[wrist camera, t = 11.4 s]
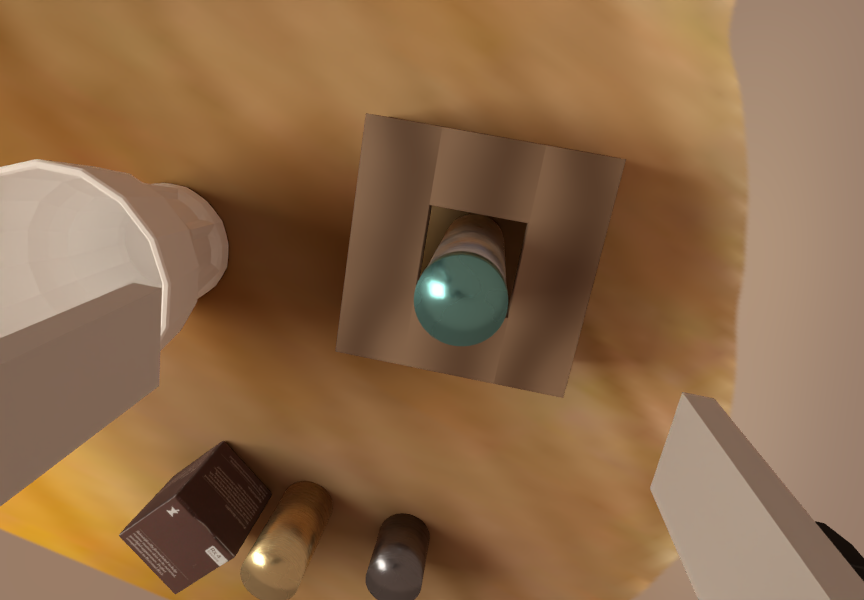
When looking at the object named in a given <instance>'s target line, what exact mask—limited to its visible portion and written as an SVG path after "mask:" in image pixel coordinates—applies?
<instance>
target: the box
mask: <svg viewBox="0 0 864 600" xmlns="http://www.w3.org/2000/svg"><path fill="white" fill-rule="evenodd" d="M271 495H272V493H271V492H270V491H269V490H268V489H267V488H266V487H265V486H264V485H263V483H262V482H261V481H260V480H259V479H258V478H257V477H256V476H255V475H254V474H253V472H252V471H251V470H250V469H249V468H248V467H247V466H246V465H245V464H244V462H243V461H242V460H241V459H240V458H239V457H238V456H237V455H236V454H235V453H234V451H233V450H232V449H231V448H230V447H229V446H228V445H227V444H226V442H225V441H222V442H220V443H219V444H218V445H216V446H215V447H213V448H212V449H211V450H209V451H208V452H206V453H205V454H204V455H202V456H201V457H200V458H198V459H197V460H195V461H194V462H192V463H191V464H190V465H188V466H187V467H186V468H184V469H183V470H182V471H180V472H179V473H177V474H176V475H175V476H173V477H172V478H171V479H170V481H169V482H168V483H167V484H166V485H165V486H164V487H163V488H162V489H161V490H160V491H159V492H158V493H157V494H156V495H155V497H154V498H153V499H152V500H151V501H150V502H149V503H148V504H147V505H146V506H145V507H144V508H143V509H142V510H141V512H140V513H139V514H138V515H137V516H136V517H135V518H134V519H133V520H132V521H131V522H130V523H129V524H128V525H127V526H126V527H125V529H124V530H123V531H122V532H121V533H120V534H119V537H120V538H121V539H122V540H123V541H124V542H125V543H126V544H127V545H128V546H129V547H130V548H131V549H132V550H133V551H134V552H135V553H136V554H137V555H138V556H139V557H140V558H141V559H142V560H143V561H144V562H145V563H146V564H147V565H148V566H149V567H150V569H151V570H152V571H153V572H154V573H155V574H156V575H157V576H158V577H159V578H160V579H161V580H162V581H163V582H164V583H165V584H166V585H167V586H168V587H169V588H170V589H171V590H172V592H173V593H174V594H177V593H178V592H180V591H182V590H183V589H185V588H186V587H188V586H189V585H191V584H193V583H194V582H196V581H197V580H199V579H200V578H202V577H203V576H205V575H207V574H208V573H210V572H211V571H213V570H215V569H216V568H218V567H220V566H221V565H223V564H224V563H226V562H228V561H229V560H231V559H232V558H234V557H235V556H236V554H237V553H238V551H239V549H240V547H241V546H242V544H243V543H244V541H245V539H246V537H247V536H248V534H249V532H250V531H251V529H252V527H253V526H254V524H255V522H256V521H257V519H258V518H259V516H260V514H261V513H262V511H263V509H264V507H265V506H266V504H267V503H268V501H269V499H270V497H271Z"/></svg>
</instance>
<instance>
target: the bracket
mask: <svg viewBox="0 0 864 600" xmlns="http://www.w3.org/2000/svg"><path fill="white" fill-rule="evenodd" d="M625 161H626V159H621V158H615V157H610V156H605V155H599V154H594V153H588V152H583V151H577V150H571V149H566V148H560V147H554V146H549V145H543V144H537V143H532V142H526V141H521V140H515V139H509V138H504V137H498V136H492V135H487V134H481V133H475V132H470V131H464V130H459V129H453V128H447V127H442V126H436V125H430V124H425V123H419V122H414V121H408V120H402V119H397V118H391V117H385V116H379V115H373V114H367V113H366V117H365V125H364V133H363V140H362V148H361V156H360V164H359V172H358V179H357V187H356V195H355V203H354V210H353V218H352V226H351V234H350V242H349V249H348V257H347V265H346V273H345V281H344V288H343V296H342V304H341V312H340V319H339V327H338V335H337V343H336V352H341V353H346V354H351V355H356V356H361V357H366V358H370V359H375V360H380V361H385V362H390V363H395V364H400V365H405V366H410V367H415V368H420V369H424V370H429V371H434V372H439V373H444V374H449V375H454V376H459V377H464V378H469V379H474V380H478V381H483V382H488V383H493V384H498V385H503V386H508V387H513V388H518V389H523V390H528V391H532V392H537V393H542V394H547V395H552V396H557V397H562V398H563V397H564V393H565V389H566V386H567V382H568V378H569V374H570V370H571V367H572V363H573V359H574V355H575V351H576V347H577V344H578V340H579V336H580V332H581V328H582V325H583V321H584V317H585V313H586V309H587V306H588V302H589V298H590V294H591V290H592V287H593V283H594V279H595V275H596V271H597V268H598V264H599V260H600V256H601V252H602V249H603V245H604V241H605V237H606V233H607V229H608V226H609V222H610V218H611V214H612V210H613V207H614V203H615V199H616V195H617V191H618V188H619V184H620V180H621V176H622V172H623V169H624V165H625ZM432 205H433V206H438V207H444V208H449V209H454V210H460V211H465V212H471V213H476V214H481V215H487V216H492V217H497V218H503V219H508V220H514V221H519V222H524V223H527V226H526V230H525V235H524V239H523V244H522V248H521V253H520V258H519V262H518V267H517V271H516V276H515V280H514V285H513V289H512V294H511V298H510V303H509V308H508V311H507V314H506V317H505V319H504V321H503V323H502V325H501V326H500V328H499V329H498V330H497V332H496V333H494V334H493V335H492V336H491V337H490V338H488V339H487V340H485V341H483V342H481V343H478V344H475V345H471V346H452V345H448V344H445V343H443V342H440V341H439V340H437V339H435V338H434V337H432V336H431V335H430V334H429V333H428V332H427V331H426V330H425V329H424V328H423V327H422V325H421V324H420V322H419V320H418V318H417V316H416V312H415V308H414V292H415V288H416V285H417V282H418V280H419V279H420V273H421V267H422V261H423V255H424V249H425V243H426V237H427V231H428V225H429V219H430V213H431V207H432Z"/></svg>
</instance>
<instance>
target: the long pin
mask: <svg viewBox="0 0 864 600" xmlns="http://www.w3.org/2000/svg"><path fill="white" fill-rule="evenodd" d="M414 308H415V312H416V316H417V318H418V320H419V322H420V324H421V325H422V327H423V328H424V329H425V330H426V331H427V332H428V333H429V334H430V335H431V336H432V337H434V338H435V339H437V340H439V341H440V342H443V343H445V344H448V345H452V346H471V345H475V344H478V343H481V342H483V341H485V340H487V339H488V338H490V337H491V336H492V335H493V334H494V333H496V332H497V330H498V329H499V328H500V326H501V325H502V323H503V321H504V319H505V317H506V314H507V309H508V291H507V285H506V269H505V248H504V237H503V233H502V231H501V229H500V227H499V226H498V224H497V223H496V222H495V221H494V220H492V219H491V218H489V217H488V216H485V215H481V214H476V213H472V214H466V215H463V216H461V217H459V218H457V219H456V220H455V221H454V222H453V223H452V224H451V225H450V226H449V228H448V230H447V231H446V233H445V235H444V237H443V239H442V241H441V242H440V244H439V246H438V248H437V250H436V252H435V253H434V255H433V257H432V259H431V261H430V263H429V264H428V266H427V267H426V269H425V270H424V271H423V273H422V275H421V277H420V279H419V280H418V282H417V285H416V288H415V292H414Z"/></svg>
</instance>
